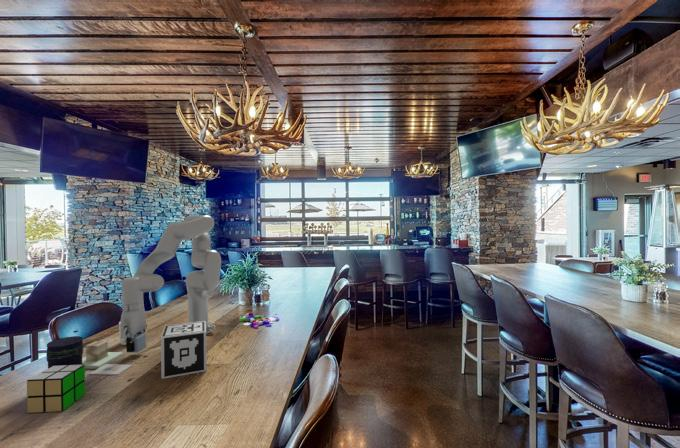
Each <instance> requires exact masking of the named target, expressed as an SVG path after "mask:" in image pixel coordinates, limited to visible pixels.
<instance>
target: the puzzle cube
mask: <svg viewBox="0 0 680 448" xmlns="http://www.w3.org/2000/svg"><path fill="white" fill-rule="evenodd" d="M85 379H86V369H85V365H69V366H68V365H61V366H52V367H50V368H49V369H48V368H47V369H44V370H43V371H42V372H40V373H38V374H36V375H34V376H32V377H29V378H28V379H27V380H26V395H27V397H26V404H27V405H26V407H27V408H26V412H27V413H26V414H36V413H37V414H38V413H41V414H42V413H58V412H60V413H61V412H64V411H65V410H66V409H68V408H69V407H71V406H72V405H73V404H74V403H75V402H77V401H78V400H80V399H81V398H82V397H83V396H85V395H86V380H85Z"/></svg>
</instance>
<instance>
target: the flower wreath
mask: <svg viewBox="0 0 680 448" xmlns="http://www.w3.org/2000/svg"><path fill="white" fill-rule="evenodd" d="M265 315H266V314H262V313H261V314H259V315H254V312H248V313H246V314H244V315H243V316H242V317H240V318H239V322H244V321H245V323H243V326H244V327H250V326H251V327H253V328H254V329H255V330H256V329H257V330H258V329H259V326H260V325H265V326H266V328H269V327H270V328H271V327H272V324H274V322H280V318H278V316H275V315H274V316H272V317H268V316H265ZM247 321H248V322H247Z"/></svg>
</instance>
